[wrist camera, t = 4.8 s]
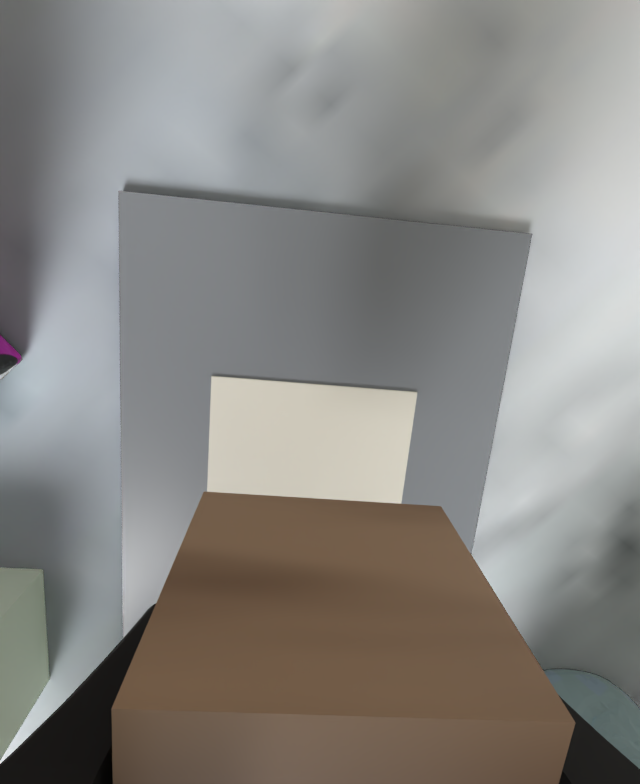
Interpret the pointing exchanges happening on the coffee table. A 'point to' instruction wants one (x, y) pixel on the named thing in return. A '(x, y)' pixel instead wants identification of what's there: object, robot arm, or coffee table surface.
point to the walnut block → (332, 656)
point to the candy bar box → (7, 357)
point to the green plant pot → (601, 708)
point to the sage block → (21, 648)
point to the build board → (302, 364)
